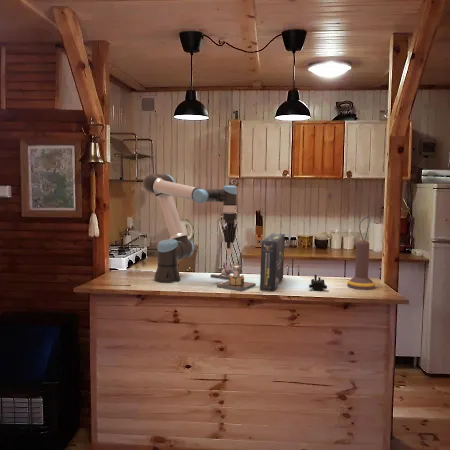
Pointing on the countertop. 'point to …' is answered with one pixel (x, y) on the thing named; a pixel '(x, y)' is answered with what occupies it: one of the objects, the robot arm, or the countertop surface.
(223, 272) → the figurine
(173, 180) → the robot arm
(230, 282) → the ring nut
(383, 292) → the countertop surface
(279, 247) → the box
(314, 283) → the toy
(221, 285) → the brass fixture on plate
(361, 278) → the flashlight
